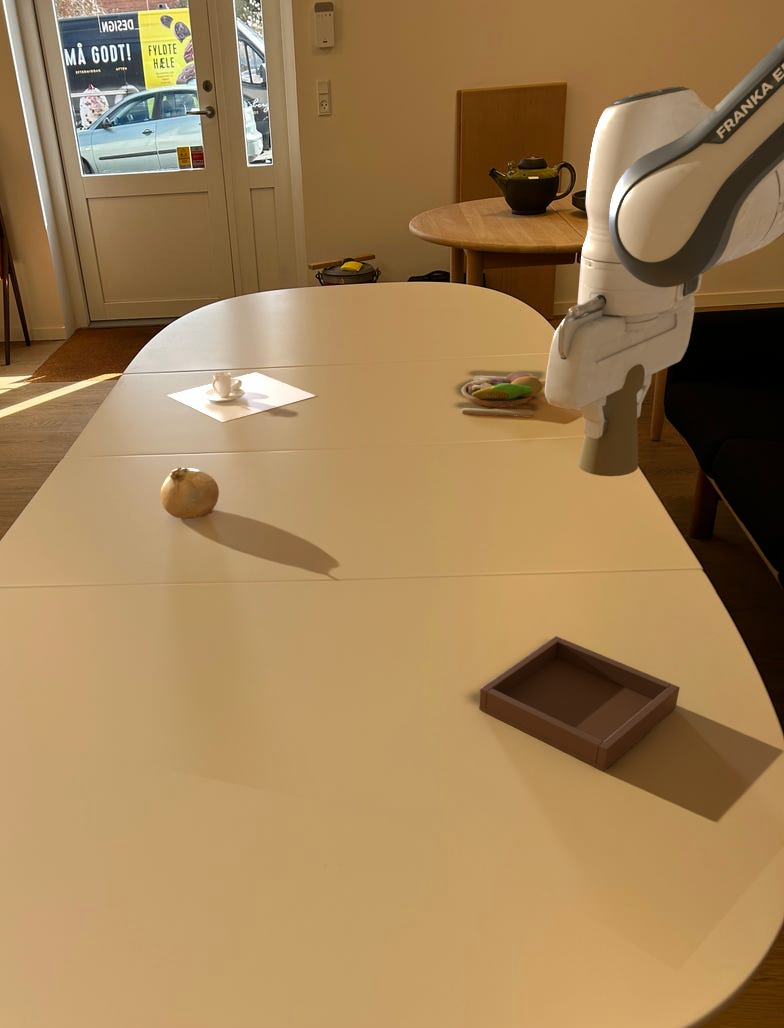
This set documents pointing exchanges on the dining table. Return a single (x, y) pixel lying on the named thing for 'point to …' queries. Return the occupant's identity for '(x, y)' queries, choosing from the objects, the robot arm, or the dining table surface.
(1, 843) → the dining table surface
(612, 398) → the chess pawn figurine
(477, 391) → the toy food set
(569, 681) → the tray
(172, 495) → the onion
